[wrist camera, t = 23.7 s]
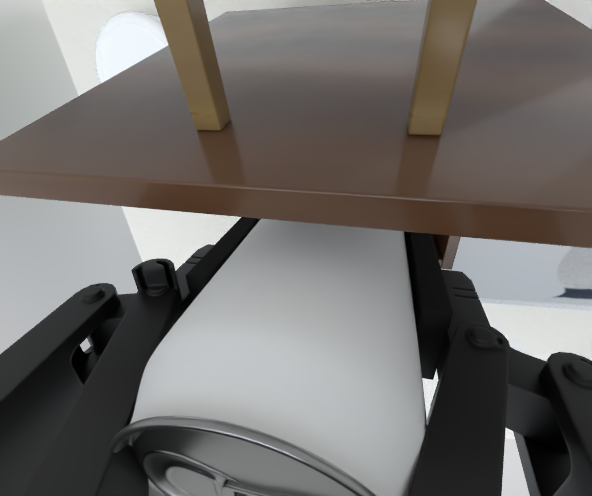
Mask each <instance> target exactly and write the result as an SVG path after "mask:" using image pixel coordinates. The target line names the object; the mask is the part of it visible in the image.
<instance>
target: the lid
mask: <svg viewBox="0 0 592 496" xmlns="http://www.w3.org/2000/svg"><path fill="white" fill-rule="evenodd" d="M154 2H155V5H156V8H157V11H158V15H159V18H160V21H161V24H162V27H163V30H164V33H165V36H166V39H167V42H168V46H166V47H164V48H163V49H161V50H159V51H157V52H156V53H154V54H152V55H150V56H149V57H147V58H145V59H143V60H142V61H140V62H138V63H136V64H135V65H133V66H131V67H129V68H128V69H126V70H124V71H122V72H120V73H119V74H117V75H115V76H113V77H112V78H110V79H108V80H106V81H105V82H103V83H101V84H99V85H98V86H96V87H94V88H92V89H91V90H89V91H87V92H85V93H84V94H82V95H80V96H78V97H77V98H75V99H73V100H71V101H70V102H68V103H66V104H64V105H63V106H61V107H59V108H57V109H56V110H54V111H52V112H50V113H49V114H47V115H45V116H43V117H42V118H40V119H38V120H36V121H35V122H33V123H31V124H29V125H27V126H26V127H24V128H22V129H20V130H19V131H17V132H15V133H14V134H12V135H10V136H8V137H7V138H5V139H3V140H1V141H0V195H4V196H16V197H26V198H37V199H49V200H59V201H70V202H82V203H93V204H104V205H115V206H126V207H137V208H149V209H160V210H171V211H182V212H193V213H204V214H215V215H227V216H238V217H249V218H260V219H271V220H282V221H294V222H305V223H316V224H327V225H338V226H349V227H360V228H372V229H383V230H394V231H405V232H416V233H427V234H438V235H450V236H461V237H472V238H483V239H495V240H505V241H517V242H529V243H539V244H551V245H562V246H572V247H583V248H592V29H590V28H588V27H587V26H585V25H584V24H582V23H580V22H579V21H577V20H575V19H574V18H572V17H571V16H569V15H567V14H566V13H564V12H563V11H561V10H559V9H558V8H556V7H554V6H553V5H551V4H550V3H548V2H546V1H545V0H406V1H390V2H375V3H359V4H344V5H328V6H312V7H297V8H281V9H266V10H250V11H234V12H226V13H224V14H222V15H221V16H219V17H217V18H215V19H214V20H212V21H210V22H208V19H207V15H206V10H205V6H204V2H203V0H154Z"/></svg>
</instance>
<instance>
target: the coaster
mask: <svg viewBox="0 0 592 496" xmlns="http://www.w3.org/2000/svg"><path fill="white" fill-rule="evenodd" d="M166 46H168V42H167V39H166V36H165V33H164V30H163V27H162V24H161V21H160V18H159V17H158V16H153V15H149V14H144V13H141V12H135V11H127V12H123V13H119V14H117V15H115V16H113V17H111V18H110V19H109V20H107V22H106V23H105V24H104V25H103V27H102V28H101V30H100V32H99V35H98V37H97V41H96V46H95V64H96V70H97V75H98V78H99V81H100V84H101V83H103V82H105V81H106V80H108V79H110V78H112V77H113V76H115V75H117V74H119V73H120V72H122V71H124V70H126V69H128V68H129V67H131V66H133V65H135V64H136V63H138V62H140V61H142V60H143V59H145V58H147V57H149V56H150V55H152V54H154V53H156V52H157V51H159V50H161V49H163V48H164V47H166Z"/></svg>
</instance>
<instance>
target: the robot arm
mask: <svg viewBox="0 0 592 496" xmlns="http://www.w3.org/2000/svg"><path fill="white" fill-rule="evenodd" d="M260 220H261V219H260V218H249V217H241V218H240V219H239V220H238V222H237V223H236V224H235V225H234V226H233V227H232V228H231V229H230V230H229V231H228V232H227V233H226V234H225V235H224V236H223V237H222V238H221V239H220V240H219V241H218V242H217V243H216V244H215V245H209V244H208V245H206V246H204V247H202V248H200V249H198V250H197V251H196V252H195V253H194V254H193V255H192V256H191V258H189V259H188V260H187V261H186V262H185V263H183V264H182V265H181V266H180V267H179V268H178V269H177V270H176V271H175V268H174V264H173V263H172V261H170V260H167V259H152V260H148V261H145V262H142V263H141V264H139V265H137V266H135V267H134V268H133V269H132V273H133V276H134V280H135V282H136V285H137V289H138V292H137V293H135V294H121V295H118V293H117V291H116V288H115V287H114V286H113V285H112V284H108V283H99V284H95V285H90V286H88V287H86V288H84V289H82V290H80V291H79V292H77V293H75V294H74V295H73V296H72V297H71V298H69V299H68V300H67V301H66V302H65V303H63V304H62V305H61V306H59V307H58V308H57V309H56V310H55V311H53V312H52V313H51V314H50V315H48V316H47V317H46V318H45V319H44V320H42V321H41V322H40V323H39V324H37V325H36V326H35V327H34V328H32V329H31V330H30V331H29V332H27V333H26V334H25V335H24V336H23V337H21V338H20V339H19V340H18V341H16V342H15V343H14V344H13V345H11V346H10V347H9V348H8V349H6V350H5V351H4V352H3V353H1V354H0V496H149V481H148V477H147V476H146V474H145V473H144V471H143V470H142V468H141V466H140V464H139V462H138V460H137V457H136V455H135V452H134V450H133V447H132V446H131V445H126V446H125V447H124V448H122V449H121V450H120V451H119V452H117V453H114V452H110V451H109V446H110V444H111V442H112V440H113V438H114V437H115V436H116V434H117V433H118V432H119V431H120V430H122V429H123V428H124V427H126V426H127V425H129V424H130V422H131V420H132V417H133V413H134V409H135V404H136V400H137V395H138V391H139V386H140V383H141V379H142V376H143V373H144V370H145V367H146V365H147V363H148V361H149V359H150V357H151V356H152V354H153V353H154V351H155V350H156V348H157V347H158V345H159V344H160V343H161V341H162V340H163V339H164V337H165V336H166V335H167V333H168V332H169V331H170V330H171V328H172V327H173V326H174V324H175V323H176V322H177V321H178V319H179V318H180V317H181V316H182V315H183V313H184V312H185V311H186V310H187V308H188V307H189V306H190V305H191V303H192V302H193V301H194V300H195V298H196V297H197V296H198V295H199V294H200V292H201V291H202V290H203V289H204V287H205V286H206V285H207V284H208V283H209V281H210V280H211V279H212V278H213V276H214V275H215V274H216V273H217V272H218V270H219V269H220V268H221V267H222V266H223V264H224V263H225V262H226V261H227V259H228V258H229V257H230V256H231V255H232V253H233V252H234V251H235V250H236V249H237V247H238V246H239V245H240V244H241V242H242V241H243V240H244V239H245V238H246V236H247V235H248V234H249V233H250V232H251V230H252V229H253V228H254V227H255V226H256V224H257V223H258V222H259V221H260ZM404 235H405V242H406V250H407V257H408V265H409V273H410V281H411V289H412V298H413V306H414V314H415V323H416V331H417V339H418V348H419V357H420V365H421V374H422V378H426V379H432V380H433V378H434V375H435V371H436V368H437V374H438V379H439V381H438V384H437V387H436V390H435V393H434V396H433V400H432V403H431V408H430V411H429V415H428V418H427V430H426V434H425V438H424V442H423V446H422V449H421V453H420V456H419V460H418V463H417V467H416V470H415V474H414V477H413V480H412V484H411V487H410V491H409V494H408V496H501V491H502V474H503V458H504V457H503V456H504V442H505V427H506V428H508V429H510V430H512V431H513V432H514V436H515V440H516V443H517V447H518V451H519V455H520V459H521V463H522V467H523V471H524V474H525V478H526V482H527V486H528V490H529V494H530V496H592V361H591V360H589V359H587V358H585V357H582V356H579V355H576V354H572V353H565V352H558V353H554V354H551V356H550V357H549V358H548V360H547V362H546V361H543V360H541V359H538V358H535V357H532V356H530V355H527V354H524V353H522V352H519V351H517V350H515V349H513V348H511V347H510V345H509V342H508V340H507V339H506V338H505V336H504V335H503V334H502V333H500V332H499V331H497V330H496V329H495V328H493V327H491V326H490V324H489V322H488V319H487V317H486V314H485V312H484V310H483V307H482V305H481V302H480V300H478V299H479V297H478V295H477V293H476V292H475V288H474V285H473V283H472V281H471V280H470V279H469V278H468V277H467V276H466V275H465V274H464V273H463V272H458V271H449V270H441V267H440V263H439V260H438V256H437V253H436V249H435V246H434V242H433V239H432V235H431V234H427V233H416V232H405V234H404ZM86 338H87V339H88V341H89V343H90V345H91V346H90V348H89V349H88V350H86V351H85V352H83V351H82V349H81V347H80V344H81V343H82V342H83V341H84V340H85V339H86Z"/></svg>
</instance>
